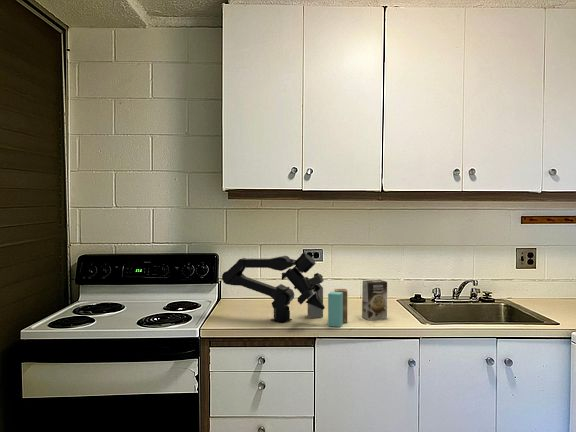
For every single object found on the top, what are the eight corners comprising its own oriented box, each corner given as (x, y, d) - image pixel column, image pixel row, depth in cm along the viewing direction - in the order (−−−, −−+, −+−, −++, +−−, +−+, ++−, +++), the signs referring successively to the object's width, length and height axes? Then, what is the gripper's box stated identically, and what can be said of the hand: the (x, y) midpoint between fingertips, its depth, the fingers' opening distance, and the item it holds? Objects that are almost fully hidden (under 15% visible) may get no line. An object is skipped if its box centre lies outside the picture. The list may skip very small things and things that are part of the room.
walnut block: (335, 322, 184) (335, 291, 184) (334, 319, 189) (334, 288, 189) (347, 322, 184) (347, 291, 183) (346, 319, 189) (346, 288, 188)
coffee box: (368, 320, 187) (368, 282, 187) (361, 317, 193) (361, 280, 193) (387, 319, 190) (387, 281, 189) (380, 315, 196) (380, 279, 195)
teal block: (328, 325, 178) (328, 293, 178) (330, 322, 183) (330, 291, 183) (340, 326, 177) (340, 294, 177) (342, 323, 182) (342, 292, 181)
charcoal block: (312, 318, 191) (312, 288, 190) (307, 315, 195) (307, 286, 195) (323, 316, 193) (323, 287, 192) (317, 314, 197) (317, 285, 197)
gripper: (305, 270, 174) (332, 300, 171) (317, 264, 191) (342, 291, 188) (286, 289, 176) (312, 319, 173) (299, 281, 194) (324, 308, 191)
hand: (323, 308), depth 181 cm, fingers closed
